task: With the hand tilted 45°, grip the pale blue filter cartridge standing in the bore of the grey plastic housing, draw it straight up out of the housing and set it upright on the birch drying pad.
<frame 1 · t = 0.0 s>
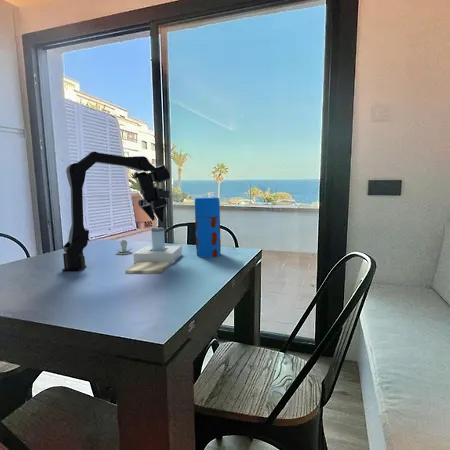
hand: (157, 221, 142), 15 cm above the table, tool pointing down, fingers open, 9 cm apart
housing: (159, 258, 139), on the table
cartridge: (158, 243, 138), in the housing
thermos: (208, 255, 145), on the table
pad: (149, 268, 123), on the table
pacifier: (124, 254, 151), on the table
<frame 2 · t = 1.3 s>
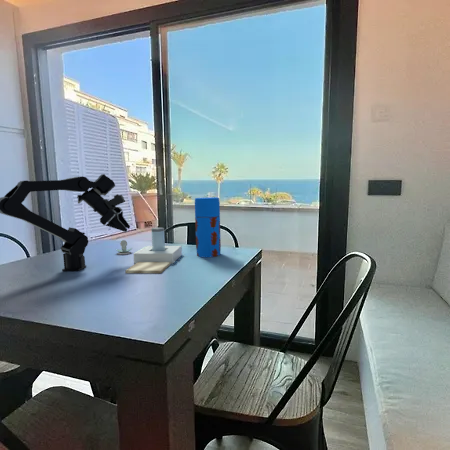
hand: (128, 229, 131), 14 cm above the table, tool tilted 45°, fingers open, 9 cm apart
nothing on the table moved.
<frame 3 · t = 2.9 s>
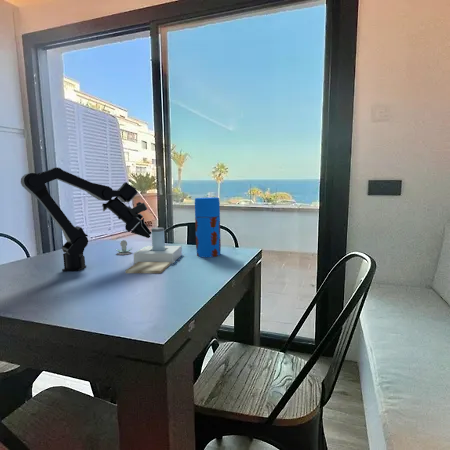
hand: (150, 235, 137), 10 cm above the table, tool tilted 45°, fingers open, 9 cm apart
nothing on the table moved.
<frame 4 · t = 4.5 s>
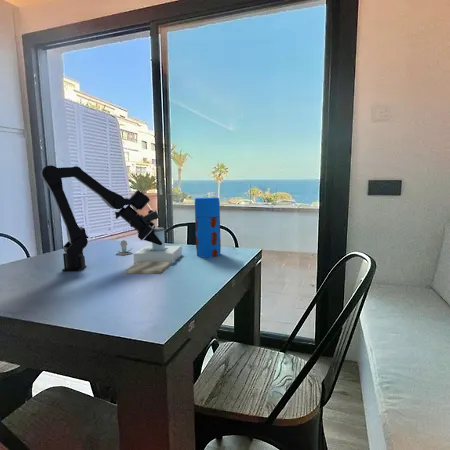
hand: (161, 243, 138), 7 cm above the table, tool tilted 45°, fingers closed on cartridge, 5 cm apart
cartridge: (158, 243, 138), in the housing, touching gripper
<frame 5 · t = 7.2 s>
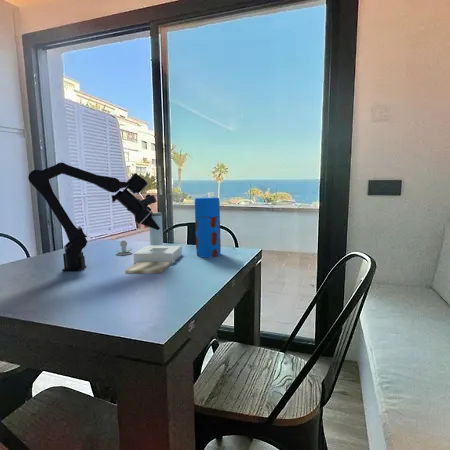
hand: (159, 228, 135), 13 cm above the table, tool tilted 45°, fingers closed on cartridge, 5 cm apart
cartridge: (155, 228, 135), point 13 cm above the table, touching gripper
when the fingers open (9 cm above the table, at t = 9.8 s): cartridge drops 1 cm, resting on pad.
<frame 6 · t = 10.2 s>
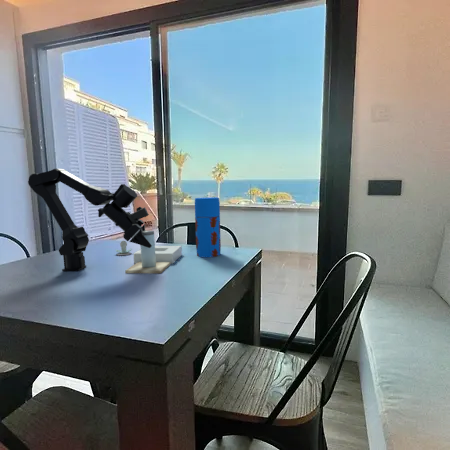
hand: (151, 244, 122), 9 cm above the table, tool tilted 45°, fingers open, 9 cm apart
cartridge: (147, 248, 122), on the pad, point 8 cm above the table
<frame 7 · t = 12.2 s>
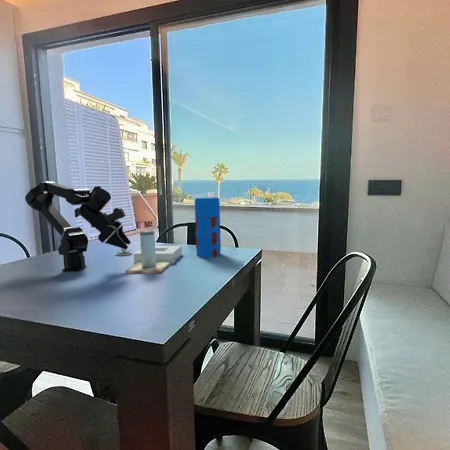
hand: (128, 245, 121), 9 cm above the table, tool tilted 45°, fingers open, 9 cm apart
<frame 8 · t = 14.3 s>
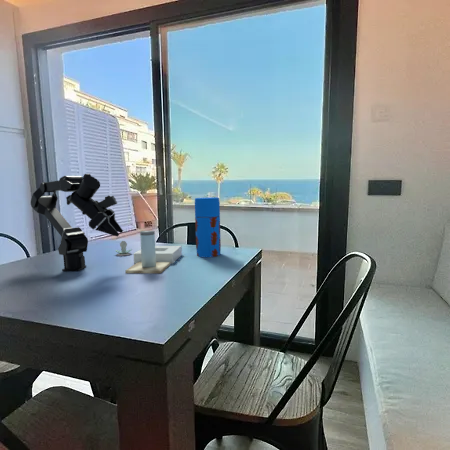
hand: (120, 233, 120), 14 cm above the table, tool tilted 45°, fingers open, 9 cm apart
at the end: cartridge inside the target area on the pad (0.0 cm from its centre), point 7.5 cm above the pad's base; cartridge tilted 1°; the gripper is holding nothing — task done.
